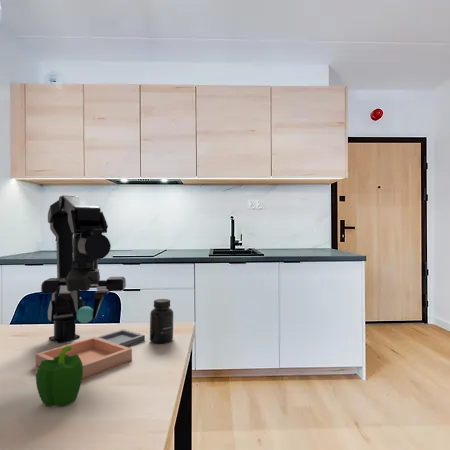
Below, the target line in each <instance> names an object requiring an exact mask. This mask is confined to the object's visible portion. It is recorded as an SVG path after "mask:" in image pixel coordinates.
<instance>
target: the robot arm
mask: <svg viewBox="0 0 450 450" xmlns="http://www.w3.org/2000/svg"><path fill="white" fill-rule="evenodd" d="M47 223H48V224H49V229H50V231H51V232H52V234H53V235H54V237H55V238H56V239H55V240H56V243H55V245H56V276H57V277H51V278H48V279H45V280H43V282H42V283H41V286H40V288H41V289H40V293H41V294H51V300H50V302H49V305H48V309H47V319H48V321H49V322H51V323H52V322H53V336H49V337H48V340H51V341H53V342H56V343H59V344H61V343H65V342H67V341H72V340H76V339H79V338H81V336H80V335H79V334H76V321H78V319H77V316H76V315H77V312H78V310H79V309H80V308H81V307H84V301H83V298H82V297H81V292H88V291H89V290H90V289H96V291H95V292H94V293H93V295H94V296H93V297H94V302H93V308H92V309H93V319H92V320H95V319H96V318H97V315H98V313H99V310H100V307H101V305H102V302H103V299H104V297H105V296H106V295H108V294H109V293H110V292H122V291H124V290H125V288H126V286H127V284H126V283H127V281H126V278H125V277H124V276H109V277H108V278H106V279H104V280H103V279H101V277H100V276H101V275H100V269H99V260H101V259H104V258H105V257H107V255H108V254H109V253H110V251H111V247H112V246H111V241H110V239H109V238H108V237H107V236H105V235H104V234H107V232H108V229H109V228H108V227H109V226H108V222H107V220H106V217H105V215H104V211H103V210H101V207H99V206H98V205H87V204H86V203H84V201H82V200H81V199H80V197H79V196H77V195H60V196H59V197H58V200H56V201H55V202H54V203H52V204H51V205H50V206H49V208H48V212H47Z"/></svg>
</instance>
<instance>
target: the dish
mask: <svg viewBox="0 0 450 450" xmlns="http://www.w3.org/2000/svg"><path fill="white" fill-rule="evenodd" d="M97 337H98V336H93V337H89V338H85V339H82V340H78V341H75V342H71V343H69V344H65V345H61V346H58V347H55V348H51V349H47V350H44V351H41V352H37V353H35V367H36V368H37V369H38V368H39V366H40V364H41V361H44V360H53V359H54V358H55V357H58V356H60V352H61V351H62V349H63V348H65V347H66V346H71V347H72V349H71V350H70V351H67V352H66V353H65V355H68V356H73V355H78V356H79V358H80V360H81V362H82V365H83V376H82V381H84V380H86V379H89V378H91V377H94V376H97V375H99V374H102V373H103V372H106V371H108V370H112V369H114V368H116V367H119V366H121V365H124V364H126V363H127V364H128V363H129V362H131V361H133V348H130V347H129V346H128V347H125V346H122V345H119V344H116V343H113V342H110V341H107V340H104V339H100V338H97Z"/></svg>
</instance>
